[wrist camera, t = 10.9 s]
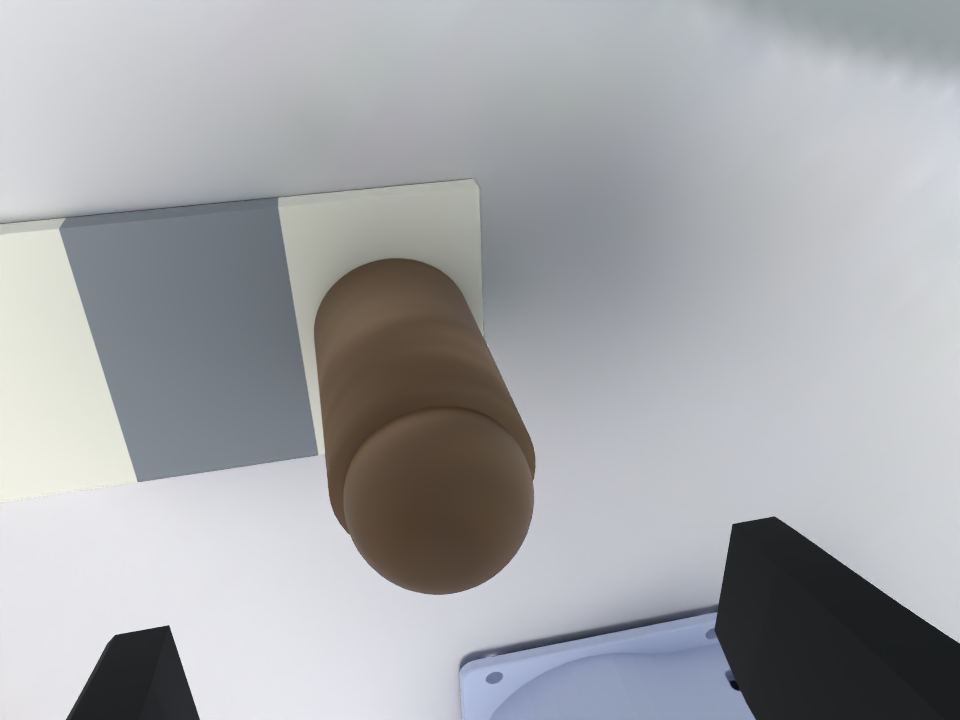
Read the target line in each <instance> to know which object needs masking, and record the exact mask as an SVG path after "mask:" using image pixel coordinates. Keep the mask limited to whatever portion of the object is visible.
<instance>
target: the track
mask: <svg viewBox="0 0 960 720" xmlns="http://www.w3.org/2000/svg"><path fill="white" fill-rule="evenodd" d="M390 258H403V259H412V260H416V261H420V262H424V263H426V264H429V265H431V266H433V267H435V268H437V269H439V270H440V271H442V272H443V273H444V274H446V275H447V276H448V277H449V278H450V279H451V280H452V281H454V282H455V284H456V285H457V286H458V288H459V289H460V290H461V292H462V294H463V296H464V298H465V300H466V302H467V304H468V306H469V308H470V310H471V312H472V315H473V317H474V319H475V321H476V323H477V325H478V327H479V329H480V332H481V334H482V336H483V338H484V321H483V288H482V256H481V223H480V191H479V186H478V185H477V183H476V182H475V180H474V179H466V180H456V181H445V182H435V183H424V184H414V185H403V186H393V187H383V188H372V189H362V190H351V191H341V192H330V193H320V194H310V195H299V196H289V197H278V198H268V199H257V200H247V201H237V202H226V203H216V204H205V205H195V206H184V207H174V208H164V209H153V210H143V211H132V212H122V213H111V214H101V215H90V216H80V217H70V218H59V219H49V220H38V221H28V222H17V223H7V224H0V503H2V502H9V501H16V500H22V499H29V498H36V497H42V496H49V495H56V494H63V493H69V492H76V491H83V490H89V489H96V488H103V487H109V486H116V485H123V484H129V483H136V482H143V481H149V480H156V479H163V478H169V477H176V476H183V475H190V474H196V473H203V472H210V471H216V470H223V469H230V468H236V467H243V466H250V465H256V464H263V463H270V462H276V461H283V460H290V459H296V458H303V457H310V456H316V455H323V454H325V447H324V436H323V426H322V416H321V405H320V395H319V384H318V374H317V364H316V353H315V343H314V324H315V318H316V314H317V311H318V308H319V306H320V304H321V302H322V300H323V298H324V297H325V295H326V293H327V292H328V291H329V290H330V288H331V287H332V286H333V285H334V284H335V283H336V282H337V281H338V280H339V279H340V278H342V277H343V276H344V275H346V274H347V273H349V272H350V271H352V270H354V269H356V268H357V267H359V266H362V265H364V264H367V263H370V262H373V261H377V260H382V259H390Z"/></svg>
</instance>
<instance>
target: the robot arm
mask: <svg viewBox="0 0 960 720" xmlns="http://www.w3.org/2000/svg"><path fill="white" fill-rule="evenodd" d="M459 680H460V696H461V711H462V720H960V643H958V642H956V641H955V640H953V639H952V638H950V637H949V636H947V635H946V634H944V633H943V632H941V631H940V630H938V629H937V628H935V627H934V626H932V625H931V624H929V623H928V622H926V621H925V620H923V619H922V618H920V617H919V616H917V615H916V614H914V613H913V612H911V611H910V610H908V609H907V608H905V607H904V606H902V605H901V604H899V603H898V602H897V601H895V600H894V599H892V598H891V597H889V596H888V595H886V594H885V593H884V592H882V591H881V590H879V589H878V588H876V587H875V586H874V585H872V584H871V583H869V582H868V581H866V580H865V579H864V578H862V577H861V576H859V575H858V574H856V573H855V572H854V571H852V570H851V569H849V568H848V567H847V566H845V565H844V564H842V563H841V562H839V561H838V560H837V559H835V558H834V557H832V556H831V555H830V554H828V553H827V552H825V551H824V550H823V549H821V548H820V547H818V546H817V545H815V544H814V543H813V542H811V541H810V540H808V539H807V538H806V537H804V536H803V535H801V534H800V533H798V532H797V531H795V530H794V529H793V528H791V527H790V526H788V525H787V524H785V523H784V522H782V521H781V520H779V519H778V518H776V517H769V518H764V519H758V520H753V521H747V522H741V523H736V524H733V525H732V531H731V537H730V542H729V548H728V554H727V560H726V565H725V571H724V577H723V583H722V589H721V594H720V600H719V606H718V612H715V613H710V614H705V615H700V616H695V617H690V618H685V619H680V620H674V621H669V622H664V623H659V624H654V625H649V626H644V627H639V628H634V629H629V630H624V631H619V632H614V633H609V634H604V635H599V636H594V637H589V638H584V639H579V640H574V641H569V642H563V643H558V644H553V645H548V646H543V647H538V648H533V649H528V650H523V651H518V652H513V653H508V654H503V655H498V656H493V657H488V658H483V659H478V660H473V661H471V662H468V663H467V664H465V665H464V666H463V667H462V669H461V670H460V673H459ZM66 720H200V719H199V716H198V713H197V710H196V706H195V703H194V700H193V697H192V694H191V691H190V688H189V685H188V682H187V679H186V676H185V673H184V670H183V667H182V663H181V660H180V657H179V654H178V651H177V648H176V645H175V642H174V639H173V636H172V633H171V630H170V627H169V625H168V626H163V627H157V628H152V629H146V630H141V631H135V632H129V633H124V634H118V635H115V636H114V637H113V638H112V639H111V640H110V641H109V642H108V644H107V645H106V647H105V649H104V651H103V653H102V655H101V657H100V659H99V661H98V662H97V664H96V666H95V668H94V670H93V672H92V674H91V675H90V677H89V679H88V681H87V683H86V685H85V687H84V688H83V690H82V692H81V694H80V696H79V697H78V699H77V701H76V703H75V705H74V706H73V708H72V710H71V712H70V714H69V715H68V717H67V719H66Z"/></svg>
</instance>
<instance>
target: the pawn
mask: <svg viewBox="0 0 960 720" xmlns="http://www.w3.org/2000/svg"><path fill="white" fill-rule="evenodd" d="M314 343H315V353H316V364H317V374H318V384H319V395H320V405H321V416H322V426H323V436H324V447H325V457H326V468H327V478H328V488H329V496H330V502H331V506H332V508H333V511H334V514H335V516H336V518H337V519H338V521H339V523H340V524H341V525H342V527H343V528H344V529H345V530H346V532H347V533H348V534H350V535H351V538H352V540H353V542H354V544H355V546H356V548H357V549H358V551H359V552H360V554H361V555H362V557H363V558H364V559H365V560H366V562H367V563H368V564H369V565H370V566H371V567H372V568H373V569H374V570H375V571H377V572H378V573H379V574H380V575H381V576H382V577H384V578H385V579H387V580H388V581H390V582H392V583H394V584H396V585H398V586H400V587H402V588H404V589H408V590H411V591H414V592H419V593H424V594H433V595H443V594H452V593H457V592H461V591H465V590H468V589H471V588H473V587H476V586H478V585H480V584H482V583H484V582H486V581H487V580H489V579H491V578H492V577H494V576H495V575H496V574H497V573H499V572H500V571H501V570H502V569H503V568H504V567H505V566H506V565H507V564H508V563H509V562H510V561H511V559H512V558H513V557H514V556H515V554H516V553H517V551H518V550H519V548H520V546H521V545H522V543H523V541H524V539H525V537H526V535H527V532H528V529H529V526H530V522H531V519H532V513H533V505H534V489H533V479H534V473H535V453H534V447H533V444H532V442H531V439H530V436H529V434H528V432H527V430H526V428H525V425H524V423H523V421H522V419H521V417H520V415H519V413H518V411H517V408H516V406H515V404H514V402H513V400H512V398H511V396H510V393H509V391H508V389H507V387H506V385H505V383H504V381H503V379H502V376H501V374H500V372H499V370H498V368H497V366H496V364H495V361H494V359H493V357H492V355H491V353H490V351H489V349H488V347H487V344H486V342H485V340H484V338H483V336H482V334H481V332H480V329H479V327H478V325H477V323H476V321H475V319H474V317H473V315H472V312H471V310H470V308H469V306H468V304H467V302H466V300H465V298H464V296H463V294H462V292H461V290H460V289H459V288H458V286H457V285H456V284H455V282H454V281H452V280H451V279H450V278H449V277H448V276H447V275H446V274H444V273H443V272H442V271H440V270H439V269H437V268H435V267H433V266H431V265H429V264H426V263H424V262H420V261H416V260H412V259H403V258H390V259H382V260H377V261H373V262H370V263H367V264H364V265H362V266H359V267H357V268H356V269H354V270H352V271H350V272H349V273H347V274H346V275H344V276H343V277H342V278H340V279H339V280H338V281H337V282H336V283H335V284H334V285H333V286H332V287H331V288H330V290H329V291H328V292H327V293H326V295H325V297H324V298H323V300H322V302H321V304H320V306H319V308H318V311H317V314H316V318H315V324H314Z"/></svg>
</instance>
